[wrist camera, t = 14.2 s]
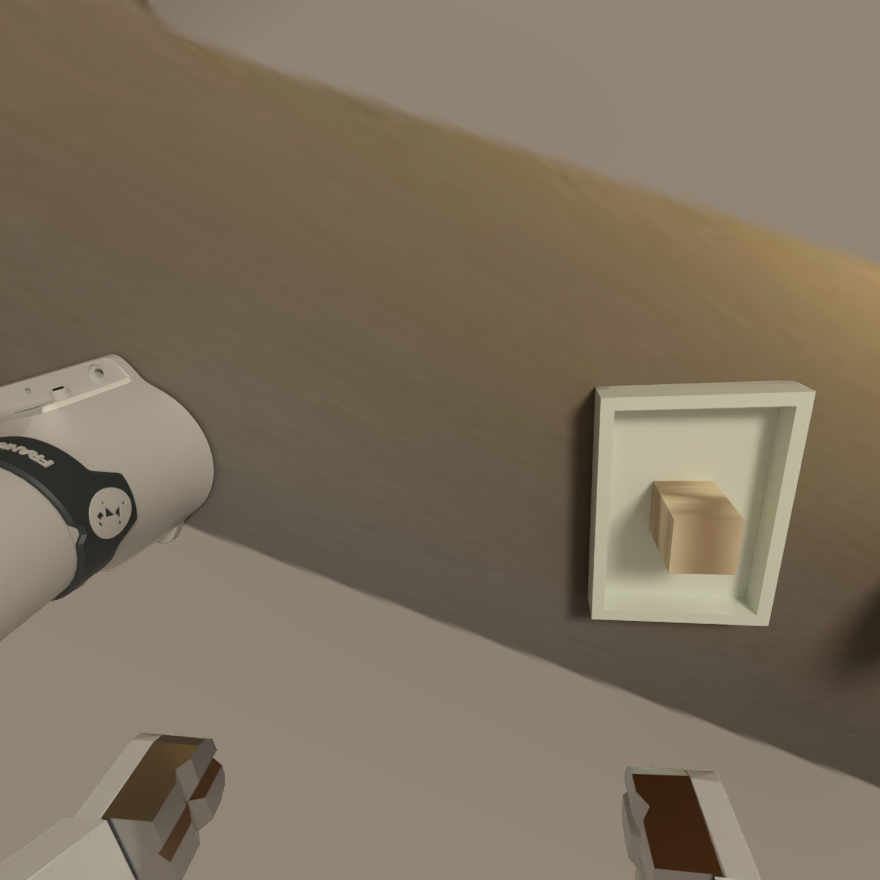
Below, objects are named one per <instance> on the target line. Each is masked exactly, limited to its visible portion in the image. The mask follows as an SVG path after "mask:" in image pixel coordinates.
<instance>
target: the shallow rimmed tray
mask: <svg viewBox="0 0 880 880" xmlns="http://www.w3.org/2000/svg"><path fill="white" fill-rule="evenodd" d="M815 393H816V391H814V390H812V389H810V388H808V387H806V386H804V385H802V384H800V383H798V382H797V381H795V380H778V381H748V382H719V383H689V384H659V385H629V386H600V387H595V405H594V432H593V459H592V486H591V513H590V540H589V567H588V594H587V597H588V602H589V607H590V613H591V618H592V619H603V620H628V621H654V622H679V623H704V624H730V625H755V626H768V624H769V619H770V614H771V609H772V605H773V600H774V595H775V590H776V585H777V580H778V575H779V570H780V565H781V560H782V555H783V550H784V546H785V541H786V536H787V531H788V526H789V521H790V516H791V511H792V506H793V501H794V496H795V491H796V487H797V482H798V477H799V472H800V467H801V462H802V457H803V452H804V447H805V442H806V437H807V432H808V428H809V423H810V418H811V413H812V408H813V403H814V398H815ZM653 481H714V482H715V483H716V485H717V486H718V487H719V488H720V490H721V491H722V492H723V493H724V495H725V496H726V497H727V498H728V500H729V501H730V502H731V503H732V505H733V506H734V507H735V509H736V510H737V511H738V512H739V514H740V515H741V516H742V517H743V519H744V527H743V533H742V539H741V545H740V552H739V558H738V564H737V570H736V575H715V574H669V573H668V571H667V569H666V566H665V564H664V562H663V560H662V557H661V555H660V553H659V551H658V548H657V546H656V544H655V541H654V539H653V537H652V535H651V532H650V530H649V525H650V513H651V501H652V488H653Z"/></svg>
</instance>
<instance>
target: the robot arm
mask: <svg viewBox="0 0 880 880" xmlns="http://www.w3.org/2000/svg"><path fill="white" fill-rule="evenodd" d="M101 370H102V371H103V374H104V375H103V374H102V372H101ZM213 476H214V467H213V459H212V454H211V451H210V447H209V445H208V442H207V440H206V438H205V436H204V434H203V432H202V430H201V429H200V427H199V425H198V424H197V422H196V421H195V420H194V419H193V417H192V416H191V415H190V414H189V413H188V411H187V410H186V409H185V408H184V407H183V406H181V405H180V404H179V403H178V402H177V401H176V400H174V399H173V398H172V397H170V396H169V395H167V394H166V393H164V392H163V391H161V390H159V389H157V388H156V387H154V386H152V385H150V384H149V383H147V382H146V381H144V380H143V379H142V378H141V377H140V376H139V375H138V374H137V373H136V371H135V370H134V369H133V368H132V367H131V366H130V365H129V364H128V363H127V362H126V361H125V360H124V359H122V358H121V357H119V356H117V355H114V354H110V355H106V356H102V357H99V358H95V359H92V360H89V361H85V362H82V363H78V364H75V365H72V366H68V367H65V368H61V369H58V370H55V371H51V372H48V373H44V374H41V375H37V376H34V377H31V378H27V379H24V380H20V381H17V382H14V383H10V384H7V385H4V386H0V641H2V640H3V639H4V638H5V637H7V636H8V635H9V634H10V633H11V632H13V631H14V630H15V629H16V628H17V627H19V626H20V625H21V624H22V623H24V622H25V621H26V620H27V619H29V618H30V617H31V616H32V615H33V614H35V613H36V612H37V611H38V610H40V609H41V608H42V607H44V606H45V605H46V604H47V603H49V602H50V601H53V600H58V599H60V598H63V597H65V596H66V595H68V594H69V593H71V592H72V591H74V590H76V589H77V588H80V587H81V586H83V585H84V584H85V583H87V582H88V581H89V580H91V579H92V578H93V577H94V576H95V575H96V573H97V572H99V571H101V570H104V571H106V572H109V571H112V570H114V569H116V568H118V567H119V566H121V565H122V564H124V563H125V562H127V561H128V560H130V559H131V558H133V557H134V556H135V555H137V554H139V553H140V552H142V551H143V550H144V549H146V548H147V547H149V546H150V545H152V544H153V543H155V542H158V543H169V542H171V541H172V540H174V539H175V538H176V537H177V536H178V535H179V533H180V531H181V529H182V527H183V524H184V521H185V519H186V518H187V517H188V516H189V515H191V514H192V513H193V512H195V511H196V510H197V509H198V508H199V507H200V506H201V505H202V504H203V503H204V502H205V500H206V499H207V497H208V495H209V493H210V490H211V487H212V483H213ZM216 751H217V749H216V747H215V744H214V742H213V739H208V738H196V737H184V736H183V737H182V736H170V735H163V734H148V733H147V734H146V733H140V734H139V735H137V736H136V737H135V738H133V739H132V740H131V741H130V742H129V743H128V745H127V746H126V748H125V749H124V750H123V752H122V753H121V754H120V756H119V757H118V758H117V760H116V761H115V762H114V764H113V765H112V766H111V768H110V769H109V770H108V772H107V773H106V774H105V776H104V777H103V778H102V780H101V781H100V783H99V784H98V785H97V787H96V788H95V789H94V791H93V792H92V793H91V795H90V796H89V797H88V799H87V800H86V802H85V803H84V804H83V805H82V807H81V808H80V809H79V811H78V812H77V814H76V815H75V816H67V817H66V818H64V819H63V820H61V821H60V822H58V823H57V824H55V825H54V826H53V827H52V828H50V829H48V830H47V831H46V832H44V833H43V834H42V835H40V836H39V837H37V838H36V839H34V840H33V841H32V842H30V843H29V844H27V845H26V846H25V847H23V848H22V849H21V850H19V851H18V852H16V853H15V854H13V855H12V856H11V857H9V858H8V859H6V860H5V861H4V862H2V863H1V864H0V880H182V879H183V877H184V875H185V873H186V871H187V869H188V867H189V865H190V863H191V861H192V859H193V857H194V855H195V853H196V850H197V849H198V847H199V845H200V839H199V830H200V829H202V827H204V826H205V825H206V824H207V823H208V822H210V821H211V820H212V819H213V817H214V815H215V813H216V811H217V808H218V806H219V804H220V802H221V798H222V793H223V790H224V786H225V774H224V771H223V767H222V765H221V764H220V763H219V762H218V761H216V760H215V759H214V758H213V756H214V754H215V752H216ZM625 783H626V788H627V793H625V794H624V795H623V801H622V818H623V830H624V837H625V842H626V848H627V853H628V857H629V858H630V860H631V861H632V862H633V863H634V865H635V866H636V876H635V880H761V878H760V876H759V873H758V871H757V868H756V866H755V863H754V861H753V858H752V856H751V853H750V851H749V848H748V846H747V844H746V841H745V838H744V836H743V834H742V831H741V828H740V826H739V823H738V821H737V819H736V816H735V814H734V811H733V809H732V806H731V804H730V801H729V799H728V796H727V794H726V791H725V789H724V786H723V784H722V781H721V779H720V778H719V776H718V775H717V774H716V773H715V772H712V771H693V770H683V769H675V768H654V767H633V766H628V767H627V768H626V771H625Z"/></svg>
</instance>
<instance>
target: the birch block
mask: <svg viewBox="0 0 880 880" xmlns="http://www.w3.org/2000/svg"><path fill="white" fill-rule="evenodd" d="M743 527H744V519H743V517H742V516H741V515H740V514H739V512H738V511H737V510H736V509H735V507H734V506H733V505H732V503H731V502H730V501H729V500H728V498H727V497H726V496H725V495H724V493H723V492H722V491H721V490H720V488H719V487H718V486H717V485H716V483H715V482H714V481H653V488H652V501H651V513H650V525H649V530H650V532H651V535H652V537H653V539H654V541H655V544H656V546H657V548H658V551H659V553H660V555H661V557H662V560H663V562H664V564H665V566H666V569H667V571H668V573H669V574H715V575H736V570H737V564H738V558H739V552H740V545H741V539H742V533H743Z"/></svg>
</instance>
